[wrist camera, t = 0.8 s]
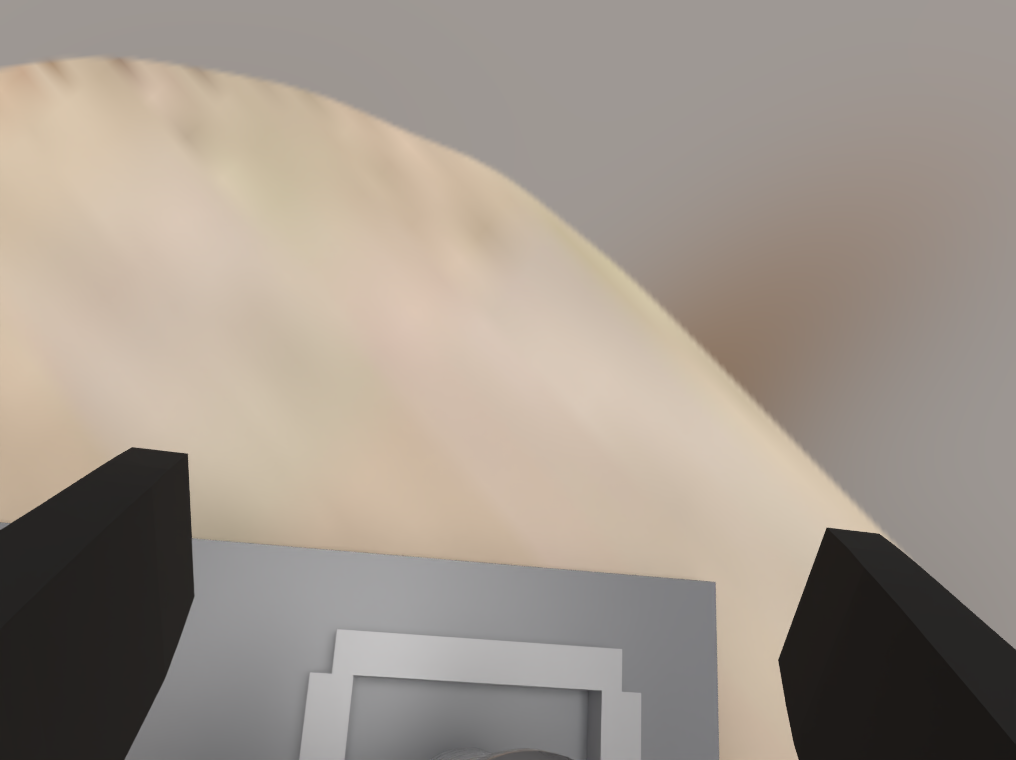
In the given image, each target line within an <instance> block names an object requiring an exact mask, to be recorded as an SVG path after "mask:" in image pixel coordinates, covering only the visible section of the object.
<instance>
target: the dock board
mask: <svg viewBox="0 0 1016 760" xmlns="http://www.w3.org/2000/svg"><path fill="white" fill-rule="evenodd" d="M9 524H11V523H1V522H0V530H1V529H3V528H4V527H6V526H8V525H9ZM192 553H193V574H194V595H195V597H194V600H193V602H192V605H191V608H190V611H189V614H188V617H187V620H186V623H185V626H184V629H183V631H182V634H181V637H180V640H179V643H178V646H177V648H176V651H175V654H174V656H173V659H172V662H171V664H170V667H169V670H168V672H167V675H166V678H165V680H164V682H163V684H162V686H161V688H160V690H159V692H158V694H157V696H156V698H155V700H154V702H153V704H152V706H151V708H150V710H149V712H148V714H147V716H146V718H145V720H144V722H143V724H142V726H141V728H140V730H139V732H138V734H137V736H136V738H135V740H134V742H133V744H132V746H131V748H130V750H129V752H128V754H127V756H126V758H125V760H431V759H432V758H434V757H436V756H437V755H439V754H441V753H443V752H445V751H449V750H452V749H457V748H475V749H480V750H483V751H486V752H489V753H491V754H492V753H495V752H499V751H503V750H509V749H515V748H531V749H539V750H545V751H548V752H552V753H556V754H559V755H563V756H566V757H569V758H571V759H573V760H719V728H718V680H717V632H716V584H715V582H709V581H697V580H685V579H673V578H661V577H649V576H637V575H625V574H613V573H601V572H589V571H577V570H565V569H553V568H541V567H529V566H517V565H505V564H493V563H481V562H469V561H457V560H445V559H433V558H421V557H409V556H397V555H385V554H373V553H361V552H349V551H337V550H325V549H313V548H301V547H289V546H277V545H265V544H253V543H241V542H229V541H217V540H205V539H193V538H192Z"/></svg>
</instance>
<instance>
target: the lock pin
mask: <svg viewBox="0 0 1016 760" xmlns="http://www.w3.org/2000/svg"><path fill="white" fill-rule="evenodd" d="M431 760H573V759H571V758H569V757H566V756H563V755H559V754H556V753H552V752H548V751H545V750H539V749H531V748H515V749H509V750H503V751H499V752H495V753H492V754H491V753H489V752H486V751H483V750H480V749H475V748H457V749H452V750H449V751H445V752H443V753H441V754H439V755H437V756H436V757H434V758H432V759H431Z"/></svg>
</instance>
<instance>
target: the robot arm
mask: <svg viewBox="0 0 1016 760" xmlns="http://www.w3.org/2000/svg"><path fill="white" fill-rule="evenodd" d="M194 597H195V595H194V574H193V553H192V532H191V512H190V491H189V470H188V454H185V453H177V452H168V451H160V450H151V449H142V448H134V447H132V448H130V449H128V450H127V451H125V452H123V453H121V454H120V455H118V456H116V457H115V458H113V459H111V460H110V461H108V462H107V463H105V464H103V465H102V466H100V467H99V468H97V469H96V470H94V471H92V472H91V473H89V474H88V475H86V476H85V477H83V478H81V479H80V480H78V481H77V482H75V483H74V484H72V485H71V486H69V487H68V488H66V489H64V490H63V491H61V492H60V493H58V494H57V495H55V496H54V497H52V498H50V499H49V500H47V501H46V502H44V503H43V504H41V505H39V506H38V507H36V508H35V509H33V510H31V511H30V512H28V513H27V514H25V515H24V516H22V517H20V518H19V519H17V520H16V521H14V522H12V523H11V524H9V525H8V526H6V527H4V528H3V529H1V530H0V760H125V758H126V756H127V754H128V752H129V750H130V748H131V746H132V744H133V742H134V740H135V738H136V736H137V734H138V732H139V730H140V728H141V726H142V724H143V722H144V720H145V718H146V716H147V714H148V712H149V710H150V708H151V706H152V704H153V702H154V700H155V698H156V696H157V694H158V692H159V690H160V688H161V686H162V684H163V682H164V680H165V678H166V675H167V672H168V670H169V667H170V664H171V662H172V659H173V656H174V654H175V651H176V648H177V646H178V643H179V640H180V637H181V634H182V631H183V629H184V626H185V623H186V620H187V617H188V614H189V611H190V608H191V605H192V602H193V600H194ZM778 661H779V667H780V673H781V679H782V684H783V690H784V696H785V702H786V707H787V712H788V717H789V722H790V727H791V732H792V737H793V742H794V746H795V749H796V752H797V755H798V759H799V760H1016V650H1015V649H1014V648H1013V647H1012V646H1011V645H1009V644H1008V643H1007V642H1006V641H1005V640H1003V638H1001V637H1000V636H999V635H998V634H997V633H996V632H995V631H993V630H992V629H991V628H990V627H989V626H988V625H986V624H985V623H984V622H983V621H982V620H981V619H979V618H978V617H977V616H976V615H975V614H974V613H973V612H972V611H970V610H969V609H968V608H967V607H966V606H965V605H963V604H962V603H961V602H960V601H959V600H958V599H957V598H956V597H955V596H953V595H952V594H951V593H950V592H949V591H948V590H946V589H945V588H944V587H943V586H942V585H941V584H940V583H939V582H937V581H936V580H935V579H934V578H933V577H932V576H930V575H929V574H928V573H927V572H926V571H925V570H923V569H922V568H921V567H920V566H919V565H918V564H917V563H915V562H914V561H913V560H912V559H911V558H909V557H908V556H907V555H906V554H905V553H903V552H902V551H901V550H900V549H898V548H897V547H896V546H895V545H893V544H892V543H891V542H889V541H888V540H887V539H885V538H884V537H883V536H882V535H880V534H876V533H868V532H859V531H851V530H842V529H833V528H826V531H825V534H824V536H823V539H822V542H821V545H820V547H819V550H818V553H817V556H816V558H815V561H814V564H813V567H812V569H811V572H810V575H809V578H808V580H807V583H806V586H805V588H804V591H803V594H802V597H801V599H800V602H799V605H798V608H797V610H796V613H795V616H794V619H793V621H792V624H791V627H790V629H789V632H788V635H787V638H786V640H785V643H784V646H783V649H782V651H781V654H780V657H779V660H778Z"/></svg>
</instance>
